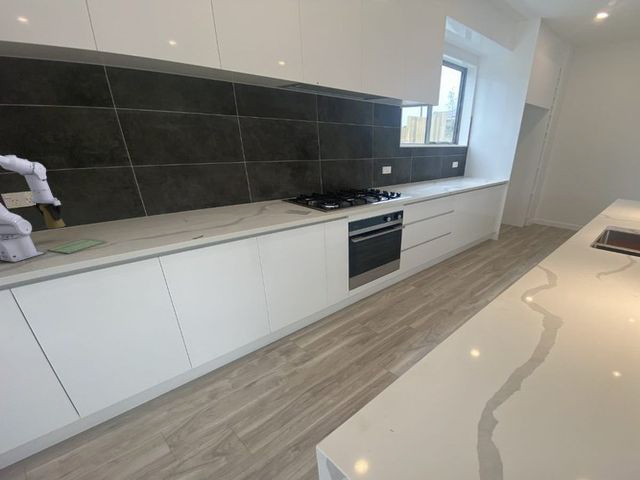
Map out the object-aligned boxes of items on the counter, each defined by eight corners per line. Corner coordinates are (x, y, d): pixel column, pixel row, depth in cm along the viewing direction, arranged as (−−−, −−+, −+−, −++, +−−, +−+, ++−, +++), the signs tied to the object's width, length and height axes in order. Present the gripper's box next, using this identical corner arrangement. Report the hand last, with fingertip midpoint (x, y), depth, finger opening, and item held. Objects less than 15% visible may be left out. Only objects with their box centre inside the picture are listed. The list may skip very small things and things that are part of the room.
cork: (48, 229, 135) (37, 205, 131) (45, 226, 138) (35, 203, 134) (66, 226, 140) (57, 203, 135) (63, 223, 143) (54, 201, 139)
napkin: (68, 253, 128) (68, 252, 128) (48, 250, 131) (47, 249, 130) (103, 242, 141) (103, 241, 140) (84, 239, 143) (83, 238, 143)
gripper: (63, 189, 134) (75, 218, 140) (40, 187, 137) (52, 215, 143) (44, 192, 128) (56, 222, 134) (19, 190, 131) (33, 219, 136)
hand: (53, 219), depth 138 cm, fingers closed on cork, 5 cm apart
